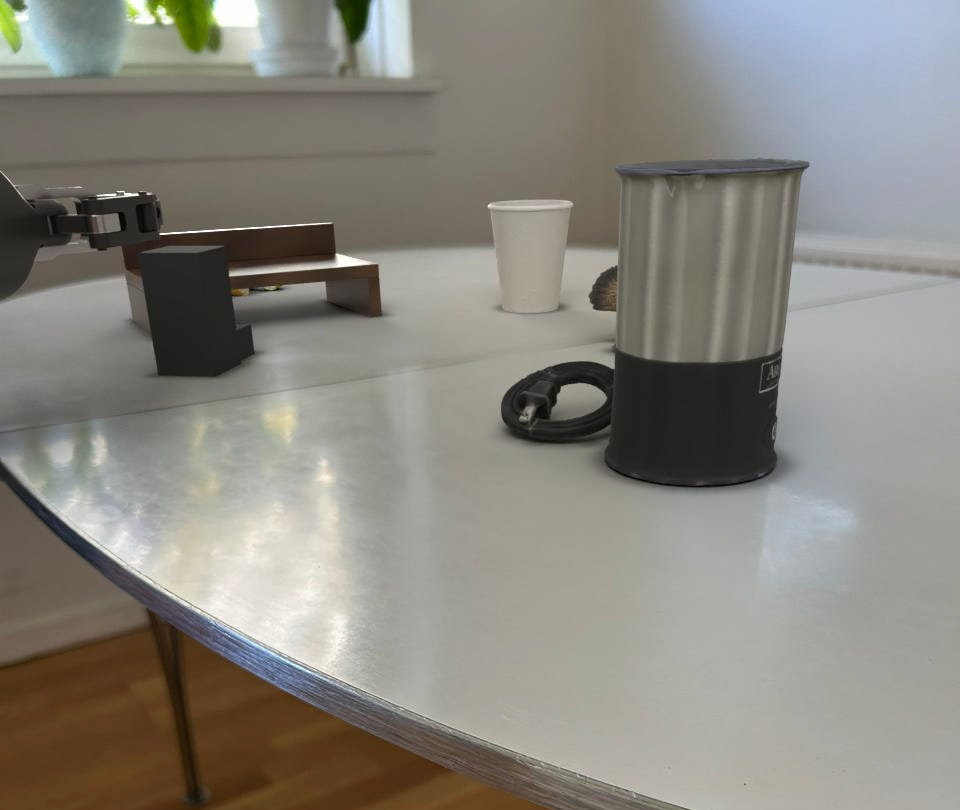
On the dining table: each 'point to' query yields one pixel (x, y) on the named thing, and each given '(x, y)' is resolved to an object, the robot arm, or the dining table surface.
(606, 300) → the eagle figurine
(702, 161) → the milk frother
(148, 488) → the dining table surface
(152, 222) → the robot arm
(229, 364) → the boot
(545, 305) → the dixie cup
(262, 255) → the wooden bench
